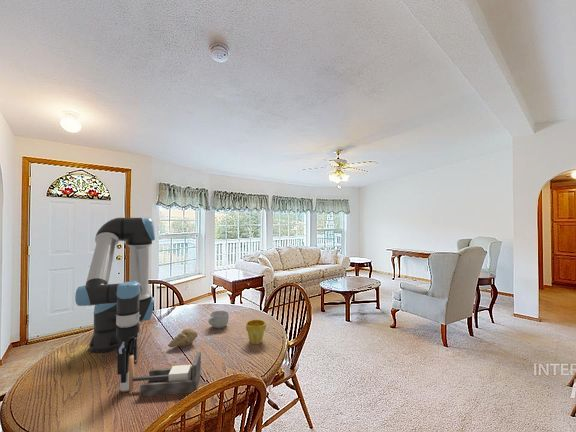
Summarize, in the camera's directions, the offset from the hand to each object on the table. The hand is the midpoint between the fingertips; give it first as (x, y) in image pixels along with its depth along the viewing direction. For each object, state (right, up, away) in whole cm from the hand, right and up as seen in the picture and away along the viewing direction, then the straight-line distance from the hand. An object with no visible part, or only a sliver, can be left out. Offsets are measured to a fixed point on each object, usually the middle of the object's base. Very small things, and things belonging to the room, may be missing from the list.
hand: (127, 386), depth 106 cm
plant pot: (+44, -2, +42) cm, 61 cm away
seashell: (+7, -2, +35) cm, 36 cm away
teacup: (+19, -2, +60) cm, 63 cm away
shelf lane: (+15, -1, +2) cm, 15 cm away
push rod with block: (+10, -1, +2) cm, 10 cm away
